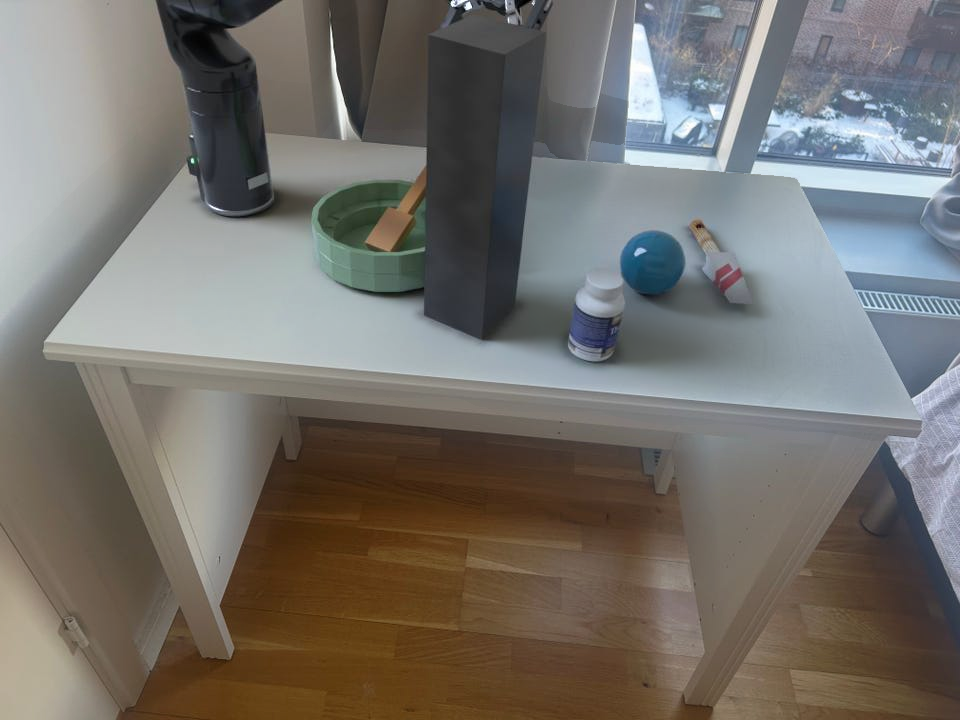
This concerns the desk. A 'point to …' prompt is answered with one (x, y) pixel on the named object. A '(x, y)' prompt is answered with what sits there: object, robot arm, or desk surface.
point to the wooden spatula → (398, 220)
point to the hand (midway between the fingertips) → (469, 49)
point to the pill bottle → (597, 315)
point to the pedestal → (478, 167)
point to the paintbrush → (721, 267)
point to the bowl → (349, 223)
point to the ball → (652, 262)
